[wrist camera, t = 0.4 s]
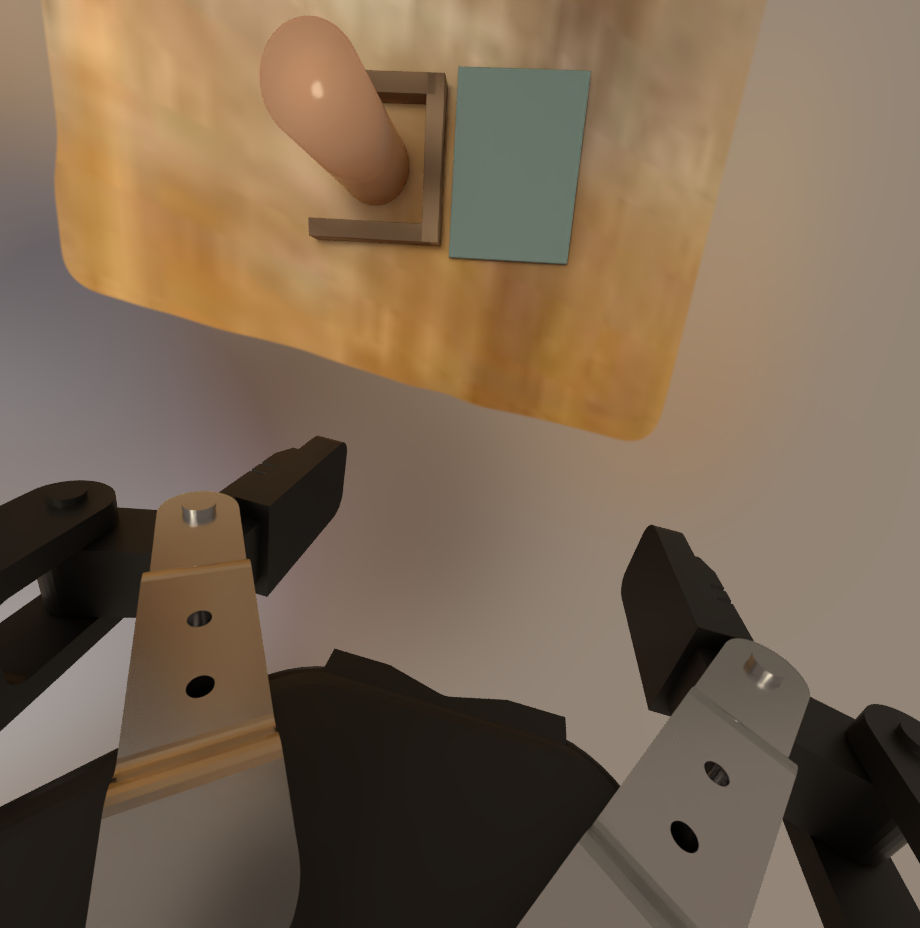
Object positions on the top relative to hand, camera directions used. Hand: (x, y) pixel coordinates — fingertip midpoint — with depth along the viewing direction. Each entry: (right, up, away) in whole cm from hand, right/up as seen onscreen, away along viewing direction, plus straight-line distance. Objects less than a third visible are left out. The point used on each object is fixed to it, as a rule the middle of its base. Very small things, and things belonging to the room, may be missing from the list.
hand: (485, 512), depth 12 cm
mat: (+3, +23, +21) cm, 31 cm away
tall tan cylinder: (-7, +24, +22) cm, 33 cm away
